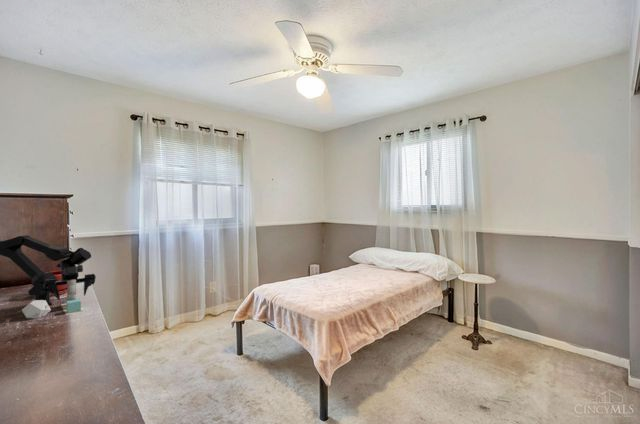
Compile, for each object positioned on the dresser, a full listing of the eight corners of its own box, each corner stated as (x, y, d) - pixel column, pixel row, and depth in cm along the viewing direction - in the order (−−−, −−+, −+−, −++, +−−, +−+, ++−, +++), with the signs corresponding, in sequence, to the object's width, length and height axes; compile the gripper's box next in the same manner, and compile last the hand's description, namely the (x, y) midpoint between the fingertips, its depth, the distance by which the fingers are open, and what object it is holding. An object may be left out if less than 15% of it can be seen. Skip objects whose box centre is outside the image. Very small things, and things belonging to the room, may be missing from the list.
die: (25, 325, 121) (44, 305, 124) (11, 314, 122) (30, 294, 125) (42, 325, 129) (60, 305, 131) (29, 314, 130) (46, 295, 133)
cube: (66, 310, 133) (66, 301, 133) (79, 308, 136) (79, 298, 136) (67, 313, 130) (67, 303, 130) (80, 310, 133) (80, 301, 133)
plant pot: (44, 292, 166) (44, 271, 166) (73, 289, 172) (73, 269, 171) (33, 298, 154) (33, 276, 154) (65, 295, 160) (64, 274, 160)
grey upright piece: (60, 306, 142) (60, 277, 142) (76, 303, 146) (76, 275, 146) (66, 317, 128) (65, 285, 128) (83, 313, 133) (83, 282, 132)
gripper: (43, 262, 133) (45, 291, 125) (94, 257, 146) (99, 283, 139) (42, 277, 138) (44, 305, 131) (91, 270, 152) (96, 296, 144)
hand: (72, 297), depth 136 cm, fingers open, 9 cm apart
